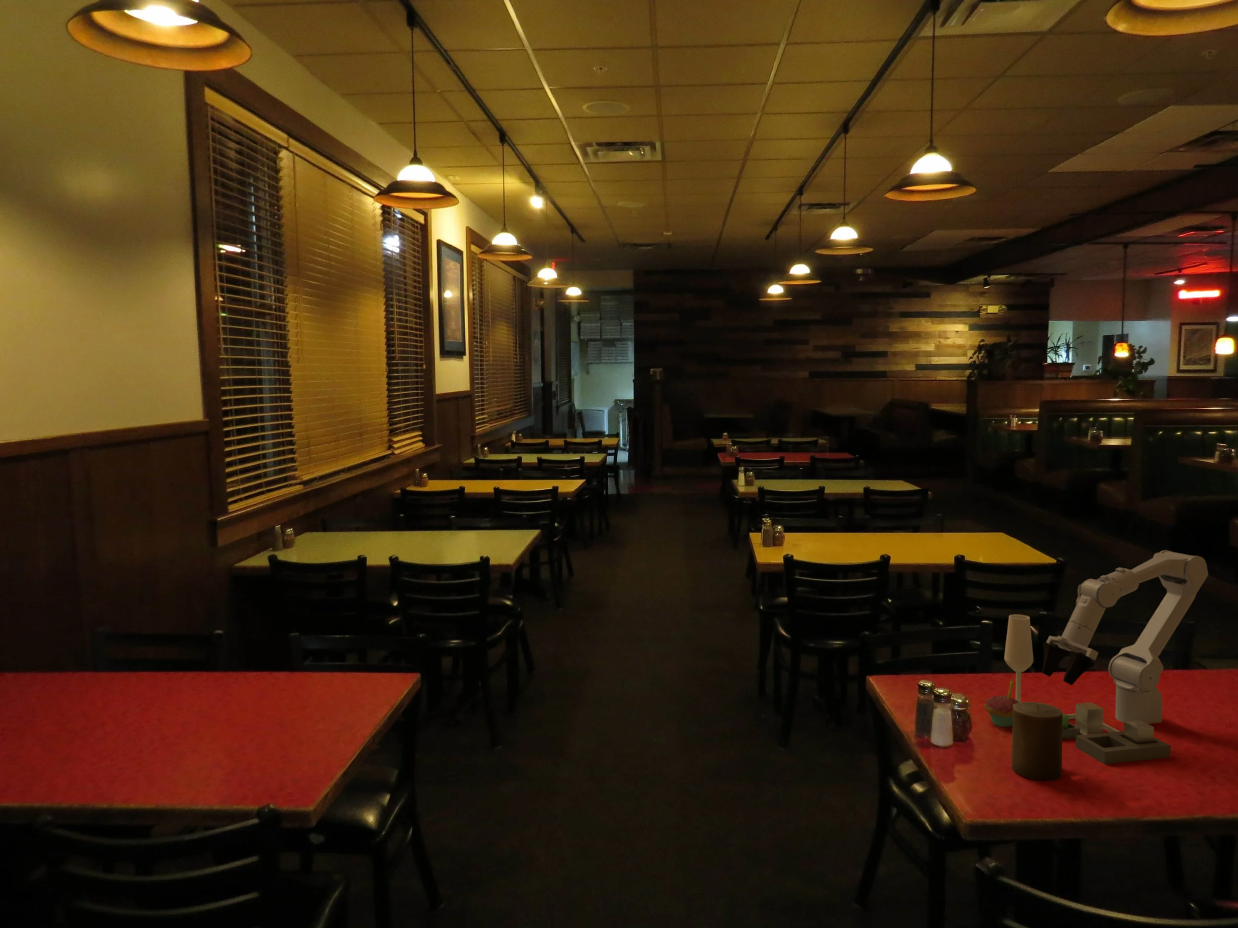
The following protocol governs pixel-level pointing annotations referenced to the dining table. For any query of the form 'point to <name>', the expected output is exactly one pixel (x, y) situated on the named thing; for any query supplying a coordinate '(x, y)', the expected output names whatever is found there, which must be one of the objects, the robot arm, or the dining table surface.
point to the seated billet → (1138, 732)
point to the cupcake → (1001, 708)
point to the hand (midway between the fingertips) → (1056, 678)
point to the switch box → (1070, 731)
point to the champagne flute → (1019, 647)
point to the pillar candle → (1037, 741)
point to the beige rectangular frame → (1105, 726)
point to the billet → (1089, 718)
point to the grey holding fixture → (1120, 748)
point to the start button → (1065, 721)
